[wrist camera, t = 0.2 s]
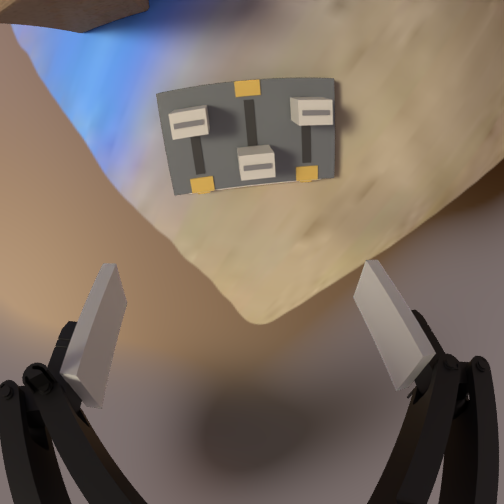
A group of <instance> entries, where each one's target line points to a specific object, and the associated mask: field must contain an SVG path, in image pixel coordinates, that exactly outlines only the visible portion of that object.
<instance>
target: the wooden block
mask: <svg viewBox="0 0 504 504" xmlns="http://www.w3.org/2000/svg"><path fill="white" fill-rule="evenodd" d="M148 9H149V0H0V23H7V24H21V25H31V26H40V27H48V28H55V29H61V30H67V31H72V32H78V33H83V32H86V31H88V30H91V29H93V28H96V27H99V26H101V25H104V24H107V23H109V22H112V21H115V20H118V19H121V18H124V17H127V16H131V15H134V14H138V13H141V12H145V11H147V10H148Z"/></svg>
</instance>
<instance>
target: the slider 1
mask: <svg viewBox="0 0 504 504" xmlns="http://www.w3.org/2000/svg"><path fill="white" fill-rule="evenodd" d="M168 115H169V121H170V127H171V133H172V139H173V140H175V139H181V138H187V137H193V136H200V135H206V134H209V130H210V125H209V117H208V109H207V105H202V106H195V107H189V108H183V109H178V110H174V111H172V112H171V113H170V114H168Z"/></svg>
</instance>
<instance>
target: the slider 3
mask: <svg viewBox="0 0 504 504" xmlns="http://www.w3.org/2000/svg"><path fill="white" fill-rule="evenodd" d="M290 108H291V121H293V122H294V123H296V124H297V125H299V126H304V125H333V104H332V100H331V99H327V98H324V97H290Z"/></svg>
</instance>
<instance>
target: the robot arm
mask: <svg viewBox="0 0 504 504" xmlns="http://www.w3.org/2000/svg"><path fill="white" fill-rule="evenodd" d="M353 298H354V300H355V302H356V304H357V306H358V308H359V310H360V312H361V314H362V316H363V318H364V320H365V323H366V325H367V327H368V329H369V331H370V333H371V335H372V337H373V340H374V342H375V344H376V346H377V348H378V350H379V353H380V355H381V357H382V359H383V361H384V364H385V366H386V368H387V371H388V373H389V375H390V377H391V380H392V382H393V385H394V387H395V389H396V391H398V390H401V389H405V388H408V387H409V386H410V385H411V384H412V383H413V382H414V381H415V383H416V385H417V386H416V387H415V388H414V389H413V390H412V391H411V392H410V394H409V395H408V396H407V398H409V397H410V396H411V395H412V397H411V401H410V404H409V407H408V410H407V413H406V417H405V419H404V422H403V425H402V428H401V430H400V433H399V436H398V438H397V441H396V443H395V446H394V448H393V451H392V453H391V456H390V458H389V460H388V462H387V465H386V467H385V469H384V471H383V473H382V476H381V478H380V480H379V482H378V484H377V486H376V488H375V490H374V492H373V494H372V496H371V498H370V500H369V501H368V503H367V504H427V502H428V499H429V497H430V494H431V492H432V489H433V486H434V483H435V481H436V478H437V474H438V471H439V469H440V465H441V462H442V459H443V455H444V465H443V474H442V483H441V490H440V497H439V503H438V504H496V503H497V491H498V476H499V440H498V423H497V411H496V402H495V394H494V387H493V382H492V375H491V370H490V366H489V364H488V362H487V360H486V359H485V358H483V357H481V356H475V357H474V358H473V359H472V360H471V361H470V362H459V361H458V360H457V359H456V358H455V357H454V356H452V355H451V354H445V352H444V351H443V349H442V347H441V346H440V344H439V342H438V340H437V339H436V337H435V335H434V334H433V332H431V329H430V327H429V325H427V322H426V320H425V319H424V317H423V316H422V315H421V314H420V313H419V312H417V311H416V310H410V308H409V307H408V305H407V303H406V302H405V300H404V299H403V297H402V295H401V294H400V292H399V291H398V289H397V288H396V286H395V285H394V283H393V282H392V280H391V279H390V277H389V276H388V274H387V273H386V271H385V270H384V269H383V267H382V266H381V264H380V263H379V261H378V260H366V262H365V265H364V268H363V271H362V274H361V277H360V280H359V283H358V285H357V288H356V291H355V294H354V297H353ZM126 306H127V300H126V297H125V294H124V290H123V287H122V283H121V280H120V276H119V272H118V268H117V265H116V264H103V265H102V267H101V269H100V271H99V273H98V276H97V278H96V280H95V282H94V284H93V286H92V289H91V291H90V293H89V296H88V298H87V300H86V303H85V305H84V307H83V310H82V312H81V315H80V317H79V320H78V322H73V321H69V322H68V323H67V324H66V325H65V326H64V327H63V329H62V330H61V333H60V335H59V338H58V339H59V340H57V343H56V347H55V348H54V351H53V353H52V356H51V359H50V362H49V364H48V367H46V365H44V364H42V363H34V364H31V365H30V366H28V367H27V368H26V370H25V371H24V373H23V377H22V378H23V384H24V385H25V386H18V385H17V384H16V383H15V382H14V381H12V380H6V381H5V382H3V383H2V384H1V385H0V440H1V447H2V453H3V459H4V465H5V470H6V474H7V478H8V483H9V487H10V491H11V495H12V498H13V502H14V504H71V501H70V498H69V496H68V493H67V490H66V487H65V484H64V482H63V478H62V475H61V472H60V469H59V465H58V462H57V458H56V455H55V451H54V447H53V443H52V440H53V442H54V444H55V446H56V448H57V450H58V452H59V454H60V456H61V458H62V460H63V462H64V463H65V465H66V467H67V469H68V471H69V472H70V474H71V476H72V478H73V479H74V481H75V482H76V484H77V486H78V487H79V489H80V491H81V492H82V493H83V495H84V497H85V498H86V500H87V501H88V503H89V504H147V503H146V502H145V500H144V499H143V498H142V497H141V496H140V494H139V493H138V492H137V491H136V489H135V488H134V487H133V486H132V485H131V483H130V482H129V481H128V479H127V478H126V477H125V476H124V474H123V473H122V471H121V470H120V469H119V467H118V466H117V465H116V463H115V462H114V460H113V459H112V457H111V456H110V455H109V453H108V452H107V450H106V449H105V447H104V446H103V444H102V442H101V441H100V439H99V438H98V436H97V435H96V433H95V431H94V430H93V428H92V426H91V425H90V423H89V421H88V419H87V418H86V416H85V414H84V412H83V411H82V409H81V408H80V405H81V402H82V401H83V403H84V404H85V405H86V406H87V407H94V408H100V409H102V406H103V400H104V395H105V390H106V385H107V381H108V376H109V371H110V367H111V363H112V358H113V354H114V350H115V346H116V342H117V338H118V334H119V330H120V327H121V323H122V319H123V316H124V312H125V309H126ZM468 395H469V399H470V400H469V399H468Z"/></svg>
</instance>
